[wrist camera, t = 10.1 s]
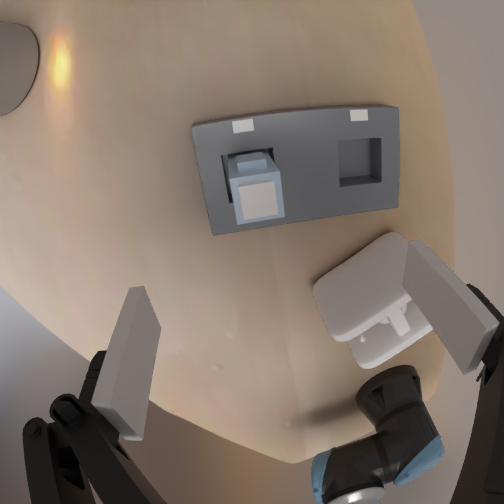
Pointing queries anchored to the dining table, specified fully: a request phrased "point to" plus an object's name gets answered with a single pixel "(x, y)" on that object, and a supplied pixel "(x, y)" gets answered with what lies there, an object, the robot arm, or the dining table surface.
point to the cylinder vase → (16, 64)
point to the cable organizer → (371, 302)
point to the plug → (255, 186)
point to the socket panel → (305, 161)
